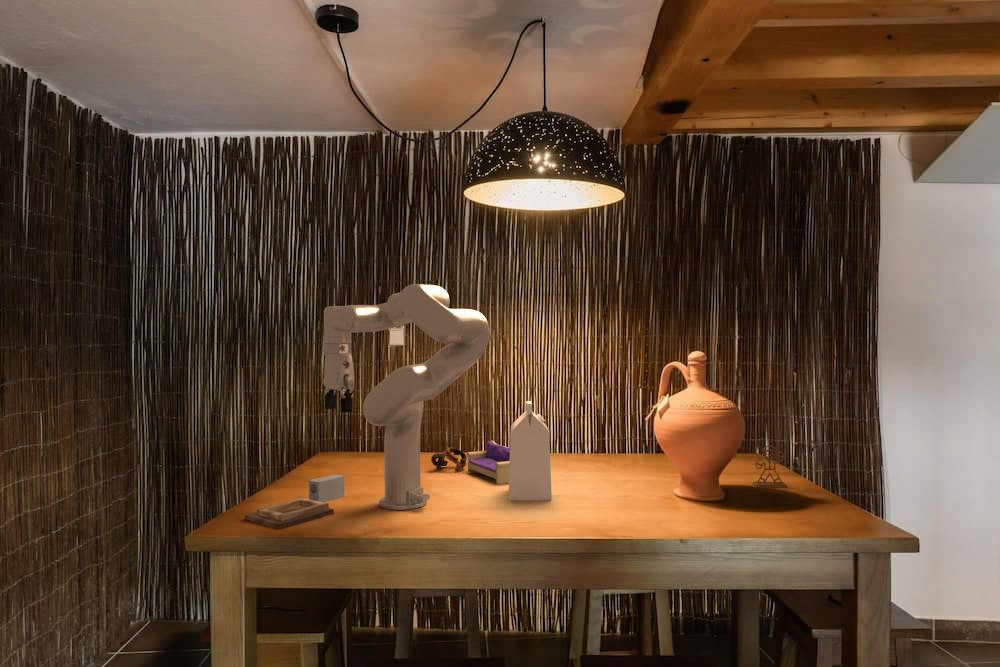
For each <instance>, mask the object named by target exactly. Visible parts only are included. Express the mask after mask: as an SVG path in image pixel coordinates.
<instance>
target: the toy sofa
mask: <svg viewBox="0 0 1000 667" xmlns="http://www.w3.org/2000/svg"><path fill="white" fill-rule="evenodd" d="M466 456H467V473H468V472H476V473H480V474H482V475H485V476H487V477H490V478H492V479H494V480H495V483H496V485H498V486H499V485H505V484H509V462H510V446H509V447H508V446H504V445H501V444H498V443H496V442H495V441H494V440H488V441H487V442H486V450H481V451H480V450H479V451H467V454H466Z"/></svg>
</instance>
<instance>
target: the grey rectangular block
mask: <svg viewBox="0 0 1000 667" xmlns="http://www.w3.org/2000/svg"><path fill="white" fill-rule="evenodd" d="M341 497H344V498H345V475H339V474H332V475H326V476H323V477H322V476H321V477H317V478H313V479H309V480H308V499H310V500H315V501H320V502H325V503H328V502H327V501H329V502H331V500H332V501H336V500H339V499H338V498H340V499H342V498H341ZM335 499H336V500H335Z"/></svg>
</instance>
